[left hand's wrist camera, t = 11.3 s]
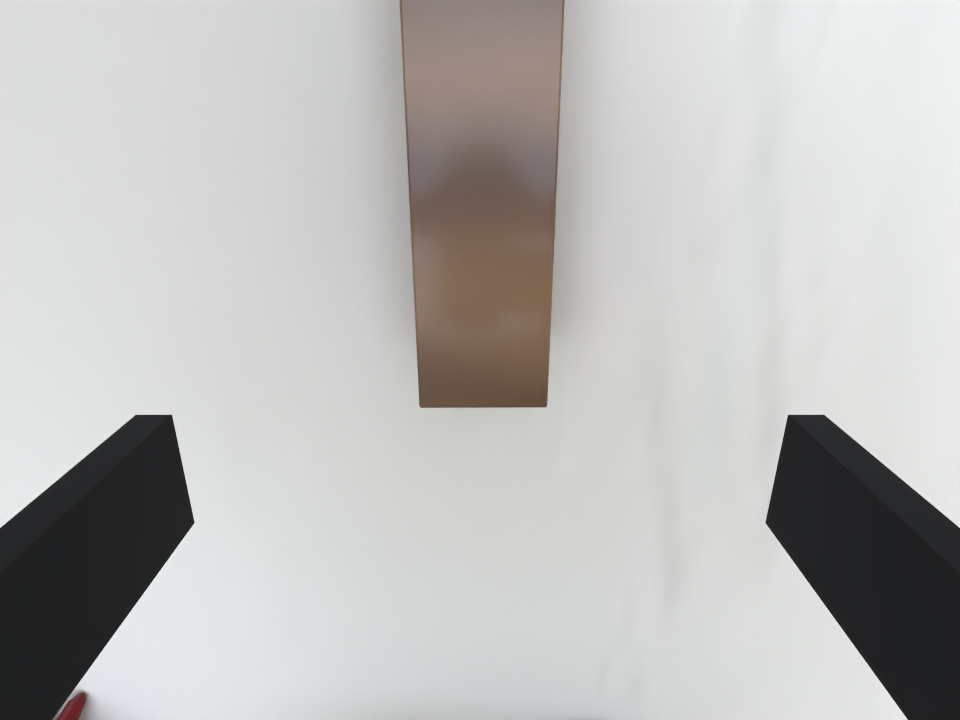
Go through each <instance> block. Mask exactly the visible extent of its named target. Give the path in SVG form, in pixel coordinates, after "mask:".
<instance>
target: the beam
mask: <svg viewBox="0 0 960 720" xmlns="http://www.w3.org/2000/svg"><path fill="white" fill-rule="evenodd" d="M400 16H401V37H402V57H403V78H404V98H405V119H406V139H407V160H408V180H409V200H410V221H411V241H412V262H413V282H414V303H415V323H416V344H417V364H418V385H419V405H420V407H421V408H445V407H547V396H548V373H549V350H550V326H551V303H552V280H553V256H554V233H555V210H556V187H557V163H558V140H559V117H560V93H561V70H562V47H563V23H564V0H400Z"/></svg>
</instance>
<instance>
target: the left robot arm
mask: <svg viewBox="0 0 960 720" xmlns="http://www.w3.org/2000/svg"><path fill="white" fill-rule="evenodd" d="M193 524H194V518H193V514H192V509H191V504H190V499H189V495H188V490H187V485H186V480H185V475H184V471H183V466H182V461H181V456H180V451H179V447H178V442H177V437H176V432H175V427H174V423H173V418H172V415H135V416H134V417H133V418H132V419H130V420H129V421H128V422H127V423H126V424H124V425H123V426H122V427H121V428H120V429H118V430H117V431H116V432H115V433H114V434H113V435H111V436H110V437H109V438H108V439H107V440H105V441H104V442H103V443H102V444H101V445H99V446H98V447H97V448H96V449H95V450H93V451H92V452H91V453H90V454H89V455H87V456H86V457H85V458H84V459H83V460H81V461H80V462H79V463H78V464H77V465H75V466H74V467H73V468H72V469H71V470H69V471H68V472H67V473H66V474H65V475H63V476H62V477H61V478H60V479H59V480H57V481H56V482H55V483H54V484H53V485H51V486H50V487H49V488H48V489H47V490H45V491H44V492H43V493H42V494H41V495H39V496H38V497H37V498H36V499H35V500H33V501H32V502H31V503H30V504H29V505H27V506H26V507H25V508H24V509H23V510H21V511H20V512H19V513H18V514H17V515H15V516H14V517H13V518H12V519H11V520H9V521H8V522H7V523H6V524H5V525H3V526H2V527H1V528H0V720H52V719H53V718H54V716H55V715H56V713H57V712H58V711H59V709H60V708H61V706H62V705H63V704H64V702H65V701H66V700H67V698H68V697H69V695H70V694H71V693H72V691H73V690H74V689H75V687H76V686H77V684H78V683H79V682H80V680H81V679H82V677H83V676H84V675H85V673H86V672H87V671H88V669H89V668H90V666H91V665H92V664H93V662H94V661H95V659H96V658H97V657H98V655H99V654H100V653H101V651H102V650H103V648H104V647H105V646H106V644H107V643H108V642H109V640H110V639H111V637H112V636H113V635H114V633H115V632H116V630H117V629H118V628H119V626H120V625H121V624H122V622H123V621H124V619H125V618H126V617H127V615H128V614H129V612H130V611H131V610H132V608H133V607H134V606H135V604H136V603H137V601H138V600H139V599H140V597H141V596H142V595H143V593H144V592H145V590H146V589H147V588H148V586H149V585H150V583H151V582H152V581H153V579H154V578H155V577H156V575H157V574H158V572H159V571H160V570H161V568H162V567H163V565H164V564H165V563H166V561H167V560H168V559H169V557H170V556H171V554H172V553H173V552H174V550H175V549H176V547H177V546H178V545H179V543H180V542H181V541H182V539H183V538H184V536H185V535H186V534H187V532H188V531H189V530H190V528H191V527H192V525H193ZM766 524H767V525H768V527H769V528H770V530H771V531H772V532H773V534H774V535H775V536H776V538H777V539H778V541H779V542H780V543H781V545H782V546H783V547H784V549H785V550H786V552H787V553H788V554H789V556H790V557H791V559H792V560H793V561H794V563H795V564H796V565H797V567H798V568H799V570H800V571H801V572H802V574H803V575H804V577H805V578H806V579H807V581H808V582H809V583H810V585H811V586H812V588H813V589H814V590H815V592H816V593H817V595H818V596H819V597H820V599H821V600H822V601H823V603H824V604H825V606H826V607H827V608H828V610H829V611H830V612H831V614H832V615H833V617H834V618H835V619H836V621H837V622H838V624H839V625H840V626H841V628H842V629H843V630H844V632H845V633H846V635H847V636H848V637H849V639H850V640H851V642H852V643H853V644H854V646H855V647H856V648H857V650H858V651H859V653H860V654H861V655H862V657H863V658H864V659H865V661H866V662H867V664H868V665H869V666H870V668H871V669H872V671H873V672H874V673H875V675H876V676H877V677H878V679H879V680H880V682H881V683H882V684H883V686H884V687H885V689H886V690H887V691H888V693H889V694H890V695H891V697H892V698H893V700H894V701H895V702H896V704H897V705H898V707H899V708H900V709H901V711H902V712H903V713H904V715H905V716H906V718H907V719H908V720H960V528H959V527H958V526H957V525H955V524H954V523H953V522H952V521H951V520H949V519H948V518H947V517H946V516H945V515H943V514H942V513H941V512H940V511H939V510H937V509H936V508H935V507H934V506H933V505H931V504H930V503H929V502H928V501H927V500H925V499H924V498H923V497H922V496H921V495H919V494H918V493H917V492H916V491H915V490H913V489H912V488H911V487H910V486H909V485H907V484H906V483H905V482H904V481H903V480H901V479H900V478H899V477H898V476H897V475H895V474H894V473H893V472H892V471H891V470H889V469H888V468H887V467H886V466H885V465H883V464H882V463H881V462H880V461H879V460H877V459H876V458H875V457H874V456H873V455H871V454H870V453H869V452H868V451H867V450H865V449H864V448H863V447H862V446H861V445H859V444H858V443H857V442H856V441H855V440H853V439H852V438H851V437H850V436H849V435H847V434H846V433H845V432H844V431H843V430H842V429H840V428H839V427H838V426H837V425H836V424H834V423H833V422H832V421H831V420H830V419H828V418H827V417H826V416H825V415H788V418H787V423H786V427H785V432H784V437H783V442H782V447H781V451H780V456H779V461H778V466H777V471H776V475H775V480H774V485H773V490H772V494H771V499H770V504H769V509H768V514H767V518H766Z"/></svg>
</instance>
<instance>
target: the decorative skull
mask: <svg viewBox="0 0 960 720" xmlns="http://www.w3.org/2000/svg"><path fill="white" fill-rule="evenodd" d="M85 701H86V700H85V698H84V696H83V694H82V695H77V696H75V697H74V698H73V699H71V700H70V701H69V702H68V703H67V705H66V706H65V708H64V710H63V711H62V713H61V714H60V716H59V717H58V718H57V720H79V717H80V714H81V712H82V709H83V706H84V704H85Z"/></svg>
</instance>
